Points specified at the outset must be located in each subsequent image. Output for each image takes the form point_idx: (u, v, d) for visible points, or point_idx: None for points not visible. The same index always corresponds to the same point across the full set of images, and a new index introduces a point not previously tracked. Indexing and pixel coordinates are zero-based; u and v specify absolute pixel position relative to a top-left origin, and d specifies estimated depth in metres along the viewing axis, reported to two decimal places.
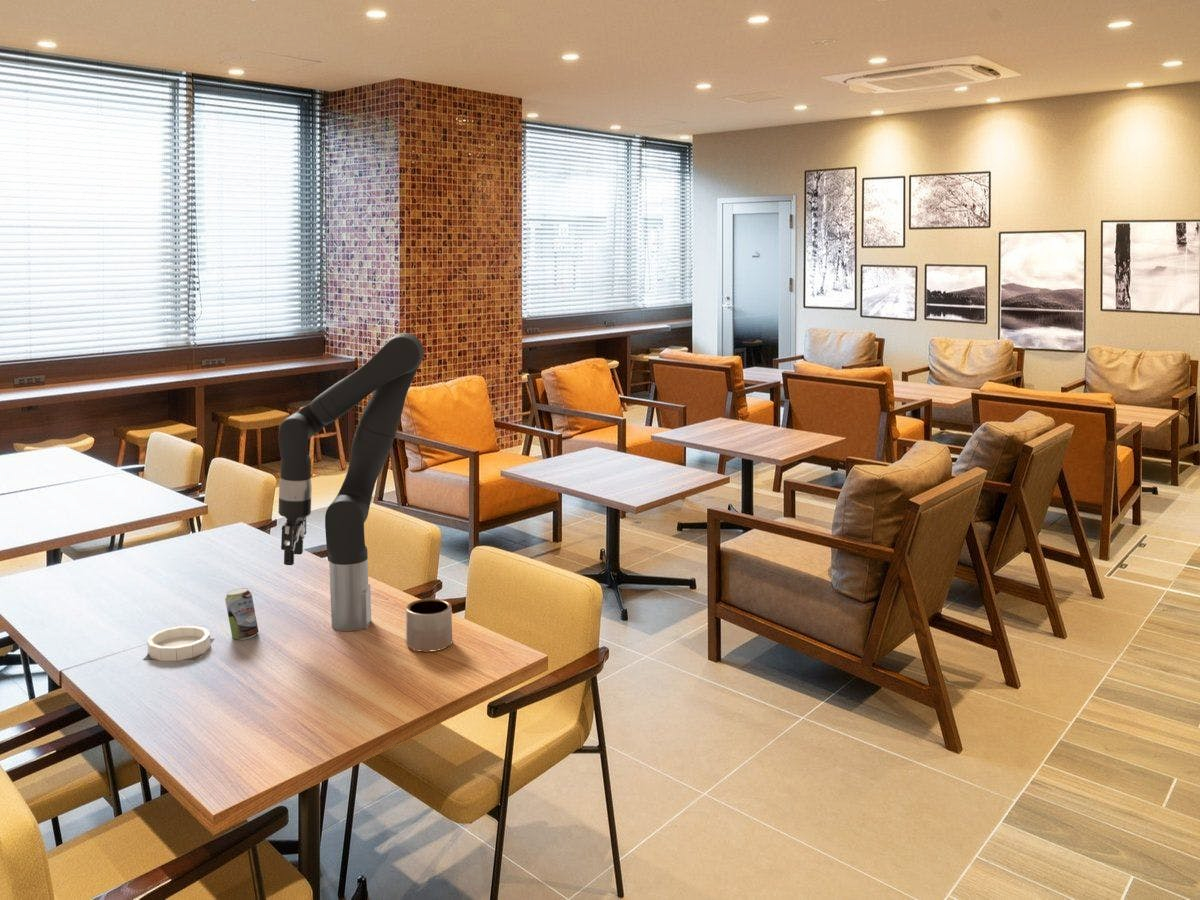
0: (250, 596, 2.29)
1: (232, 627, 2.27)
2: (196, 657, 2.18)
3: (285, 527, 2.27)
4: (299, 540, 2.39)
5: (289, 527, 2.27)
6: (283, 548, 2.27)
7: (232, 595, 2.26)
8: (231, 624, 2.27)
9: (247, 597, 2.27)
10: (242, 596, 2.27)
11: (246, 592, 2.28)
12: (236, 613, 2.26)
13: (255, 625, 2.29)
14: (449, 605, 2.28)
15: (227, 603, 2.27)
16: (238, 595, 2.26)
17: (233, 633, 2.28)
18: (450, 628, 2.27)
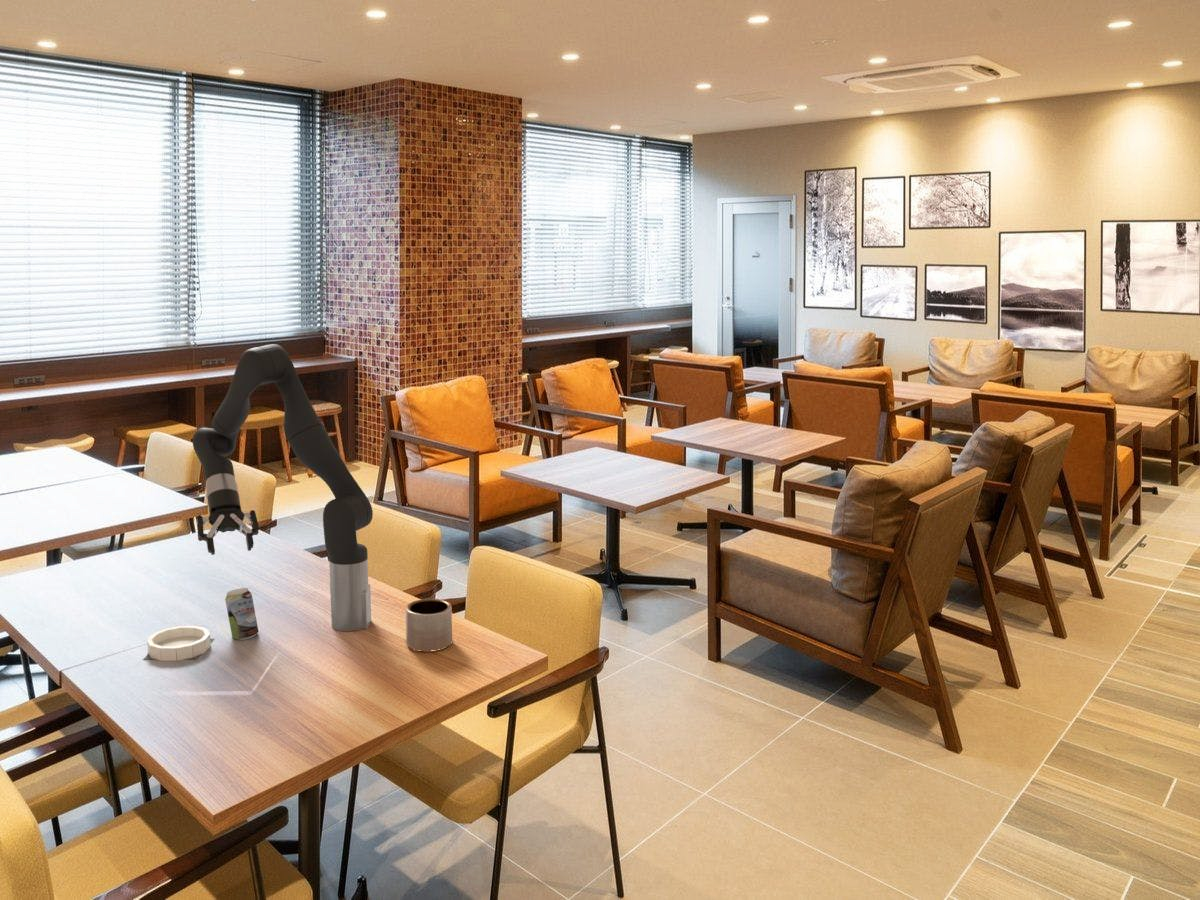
0: (250, 596, 2.29)
1: (232, 627, 2.27)
2: (196, 657, 2.18)
3: None
4: None
5: None
6: (198, 538, 2.36)
7: (232, 595, 2.26)
8: (231, 624, 2.27)
9: (247, 597, 2.27)
10: (242, 596, 2.27)
11: (246, 592, 2.28)
12: (236, 613, 2.26)
13: (255, 625, 2.29)
14: (449, 605, 2.28)
15: (227, 603, 2.27)
16: (238, 595, 2.26)
17: (233, 633, 2.28)
18: (450, 628, 2.27)
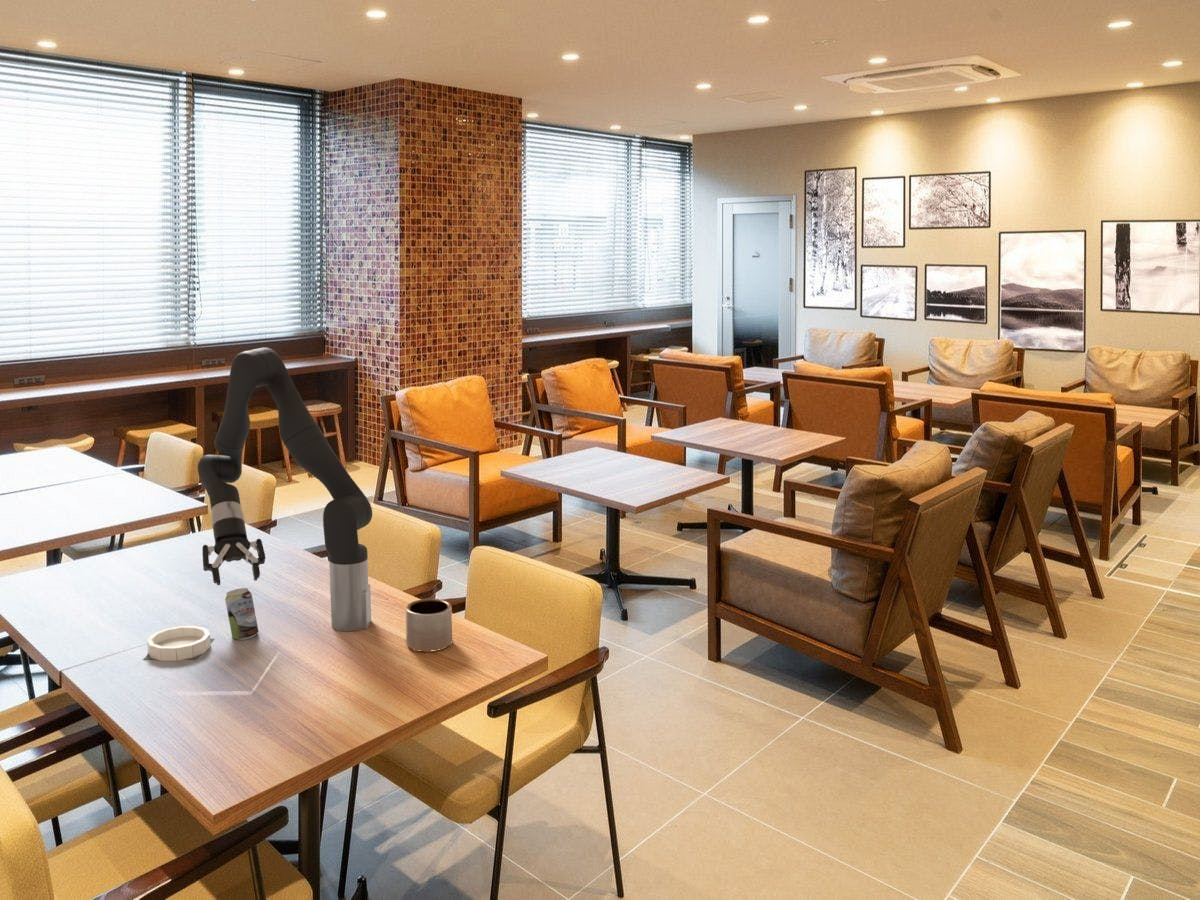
0: (250, 596, 2.29)
1: (232, 627, 2.27)
2: (196, 657, 2.18)
3: None
4: (252, 565, 2.35)
5: None
6: (203, 568, 2.32)
7: (232, 595, 2.26)
8: (231, 624, 2.27)
9: (247, 597, 2.27)
10: (242, 596, 2.27)
11: (246, 592, 2.28)
12: (236, 613, 2.26)
13: (255, 625, 2.29)
14: (449, 605, 2.28)
15: (227, 603, 2.27)
16: (238, 595, 2.26)
17: (233, 633, 2.28)
18: (450, 628, 2.27)
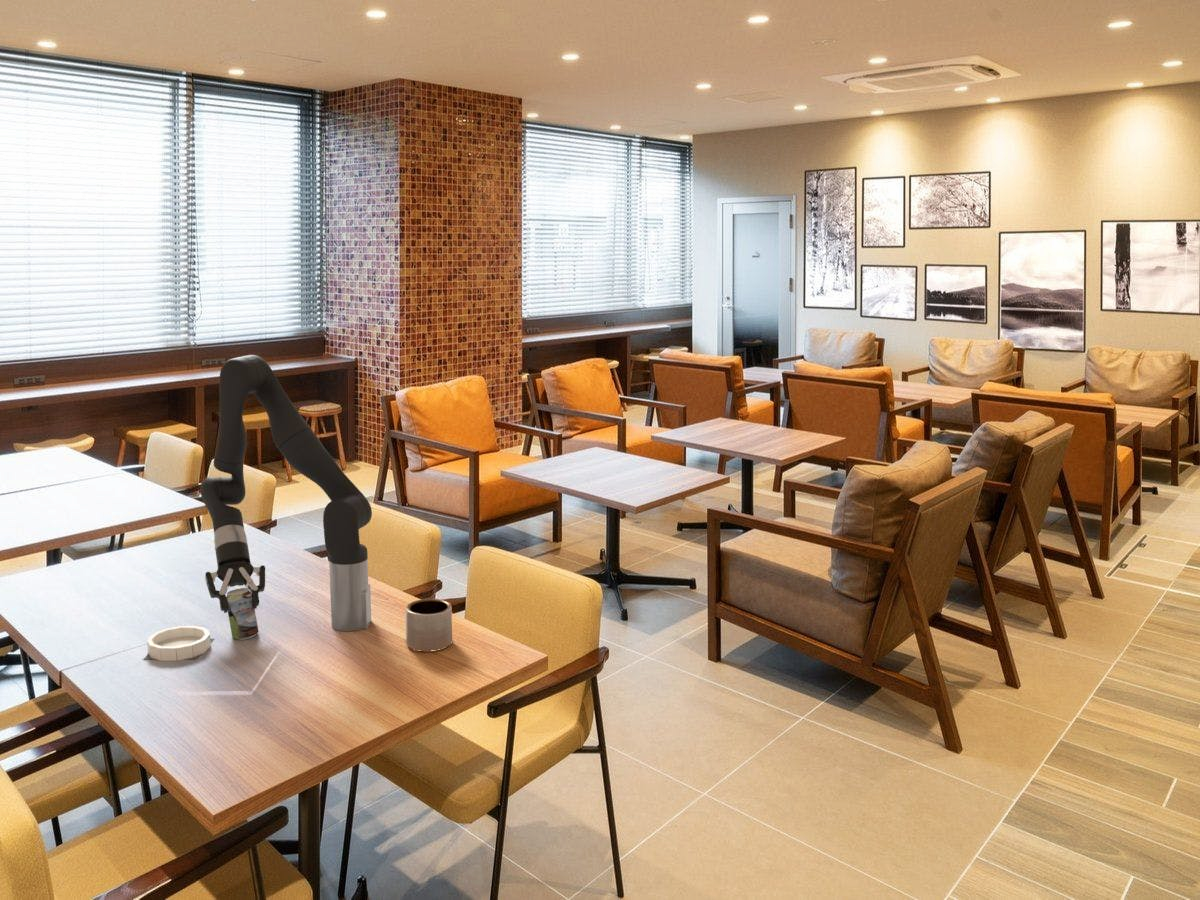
0: (250, 596, 2.29)
1: (232, 627, 2.27)
2: (196, 657, 2.18)
3: (205, 576, 2.29)
4: (252, 593, 2.30)
5: None
6: (210, 595, 2.27)
7: (232, 595, 2.26)
8: (231, 624, 2.27)
9: (247, 597, 2.27)
10: (242, 596, 2.27)
11: (246, 592, 2.28)
12: (236, 613, 2.26)
13: (255, 625, 2.29)
14: (449, 605, 2.28)
15: (227, 603, 2.27)
16: (238, 595, 2.26)
17: (233, 633, 2.28)
18: (450, 628, 2.27)
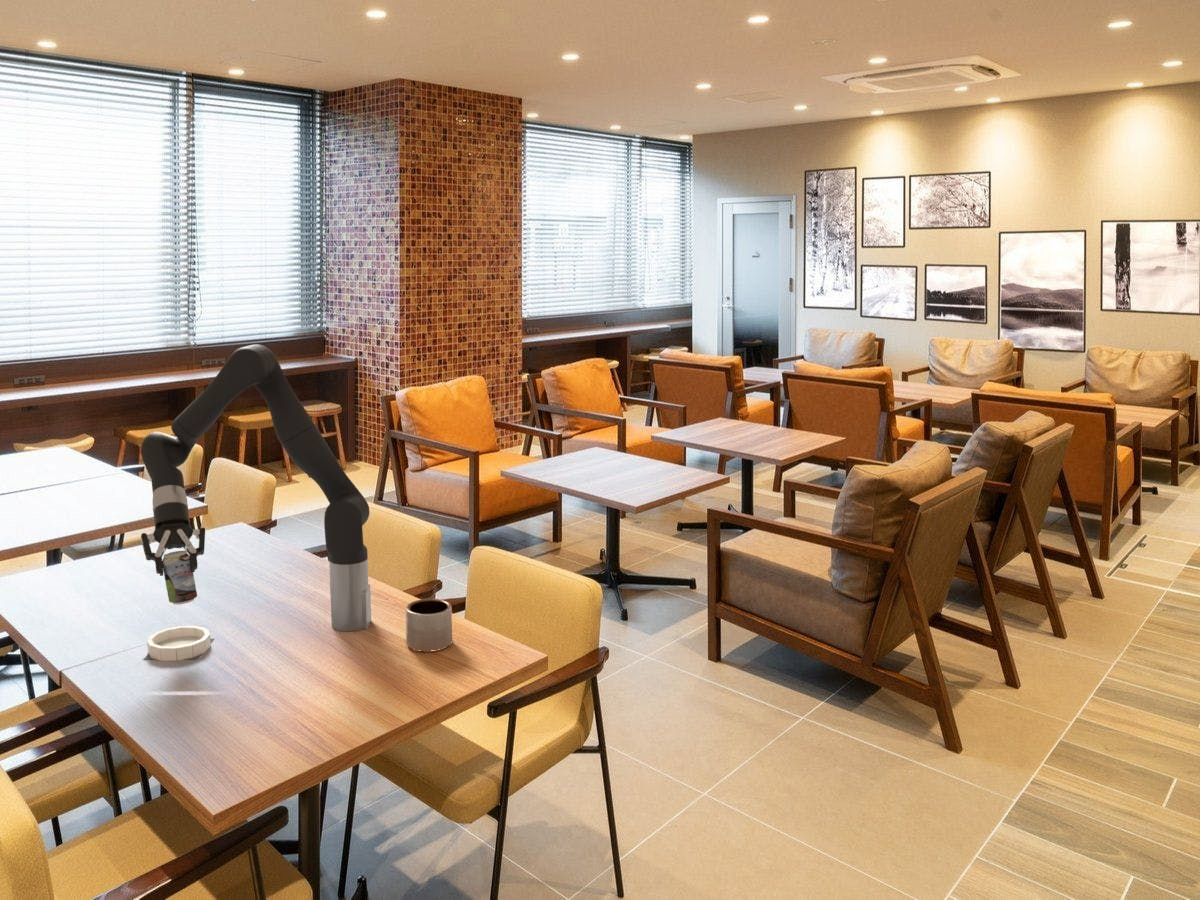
0: (188, 559, 2.19)
1: (169, 591, 2.18)
2: (196, 657, 2.18)
3: None
4: (190, 556, 2.20)
5: None
6: (146, 557, 2.18)
7: (169, 557, 2.16)
8: (168, 588, 2.18)
9: (184, 560, 2.18)
10: (179, 559, 2.17)
11: (184, 554, 2.18)
12: (172, 576, 2.17)
13: (193, 589, 2.20)
14: (449, 605, 2.28)
15: (163, 565, 2.17)
16: (175, 557, 2.17)
17: (170, 597, 2.18)
18: (450, 628, 2.27)
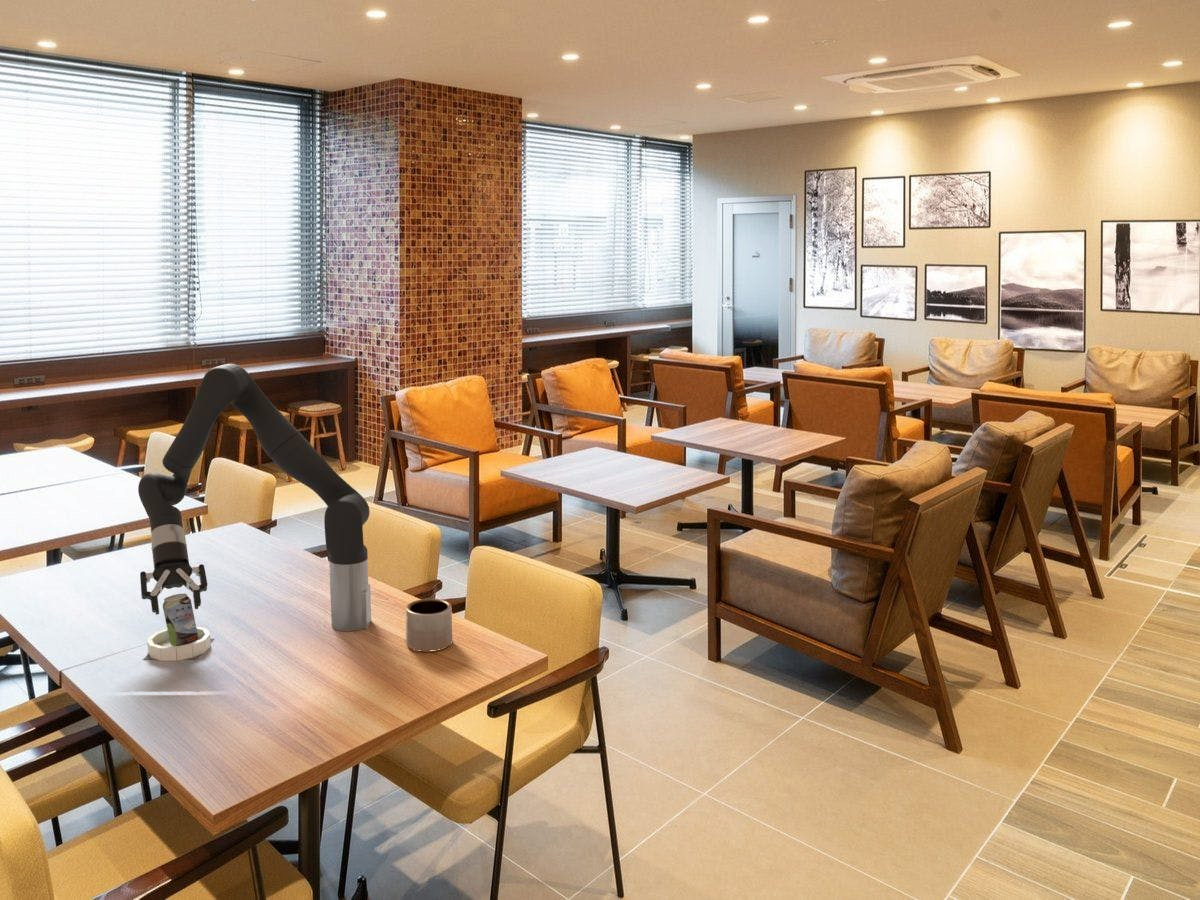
0: (189, 602, 2.20)
1: (170, 634, 2.19)
2: (196, 657, 2.18)
3: None
4: None
5: None
6: None
7: (169, 601, 2.18)
8: (169, 631, 2.19)
9: (185, 603, 2.19)
10: (180, 602, 2.18)
11: (184, 598, 2.20)
12: (173, 620, 2.18)
13: (194, 632, 2.21)
14: (449, 605, 2.28)
15: (164, 609, 2.18)
16: (176, 601, 2.18)
17: (171, 640, 2.19)
18: (450, 628, 2.27)
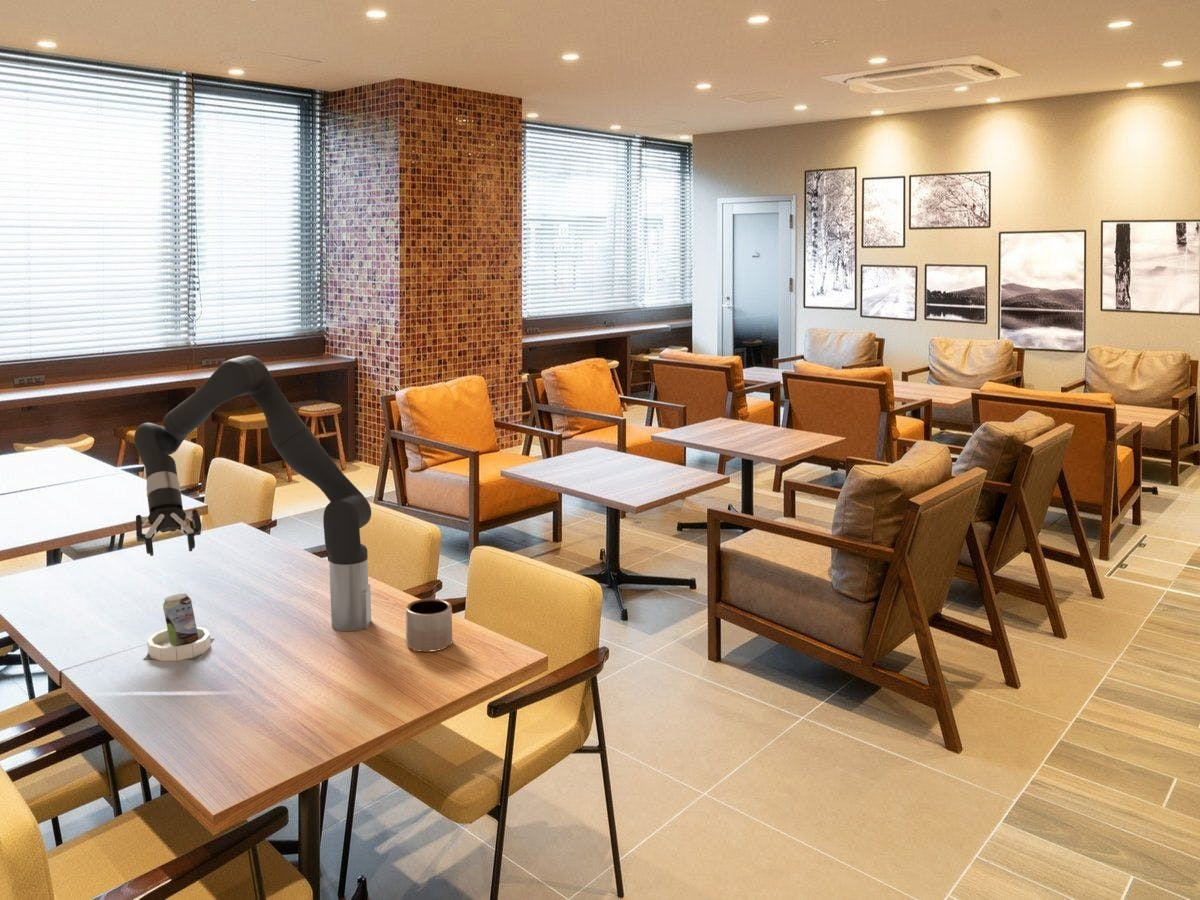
0: (189, 602, 2.20)
1: (170, 634, 2.19)
2: (196, 657, 2.18)
3: None
4: (187, 536, 2.31)
5: None
6: None
7: (170, 601, 2.18)
8: (169, 631, 2.19)
9: (185, 603, 2.19)
10: (180, 602, 2.18)
11: (185, 598, 2.20)
12: (174, 620, 2.18)
13: (194, 632, 2.21)
14: (449, 605, 2.28)
15: (165, 609, 2.18)
16: (176, 601, 2.18)
17: (171, 640, 2.19)
18: (450, 628, 2.27)
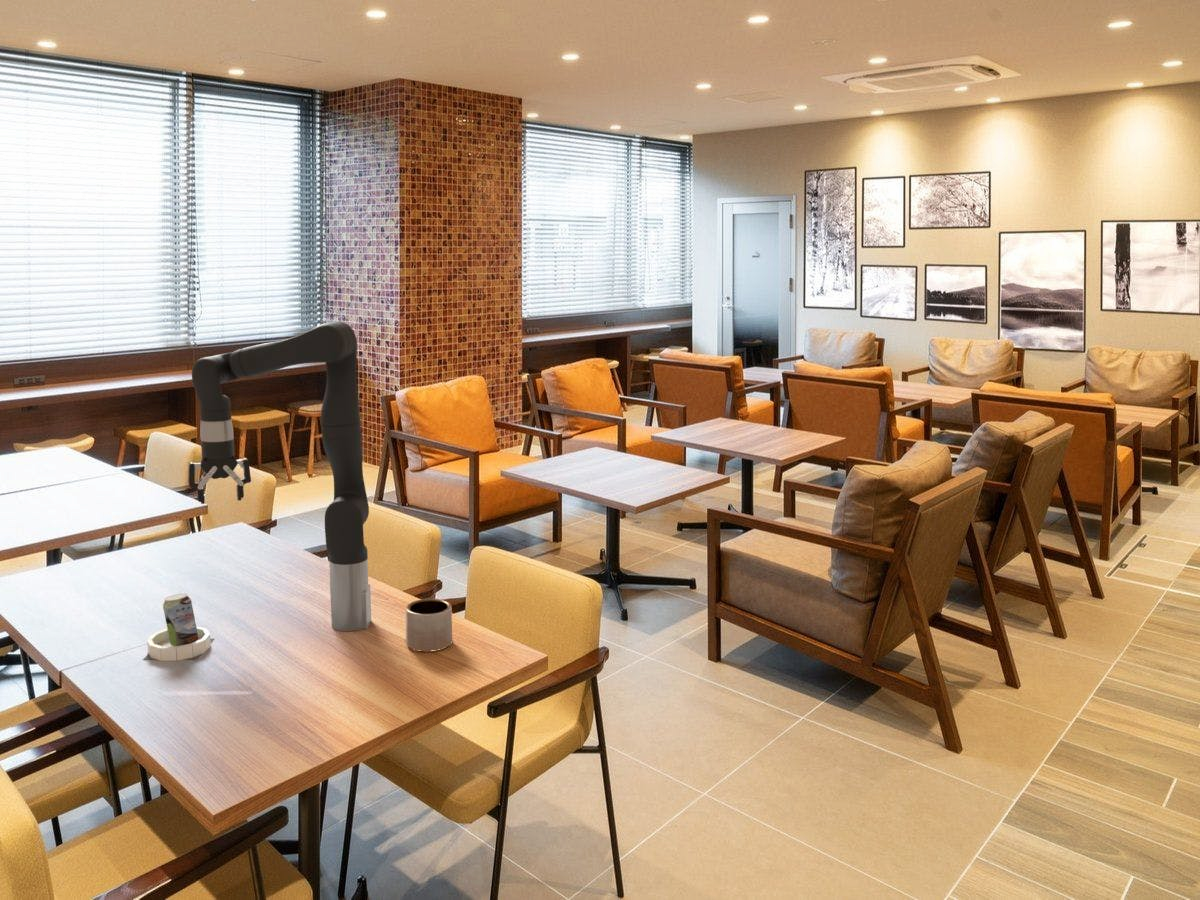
0: (189, 602, 2.20)
1: (170, 634, 2.19)
2: (196, 657, 2.18)
3: (189, 463, 2.33)
4: (237, 486, 2.38)
5: (190, 464, 2.32)
6: None
7: (170, 601, 2.18)
8: (169, 631, 2.19)
9: (185, 603, 2.19)
10: (180, 602, 2.18)
11: (185, 598, 2.20)
12: (174, 620, 2.18)
13: (194, 632, 2.21)
14: (449, 605, 2.28)
15: (165, 609, 2.18)
16: (176, 601, 2.18)
17: (171, 640, 2.19)
18: (450, 628, 2.27)
